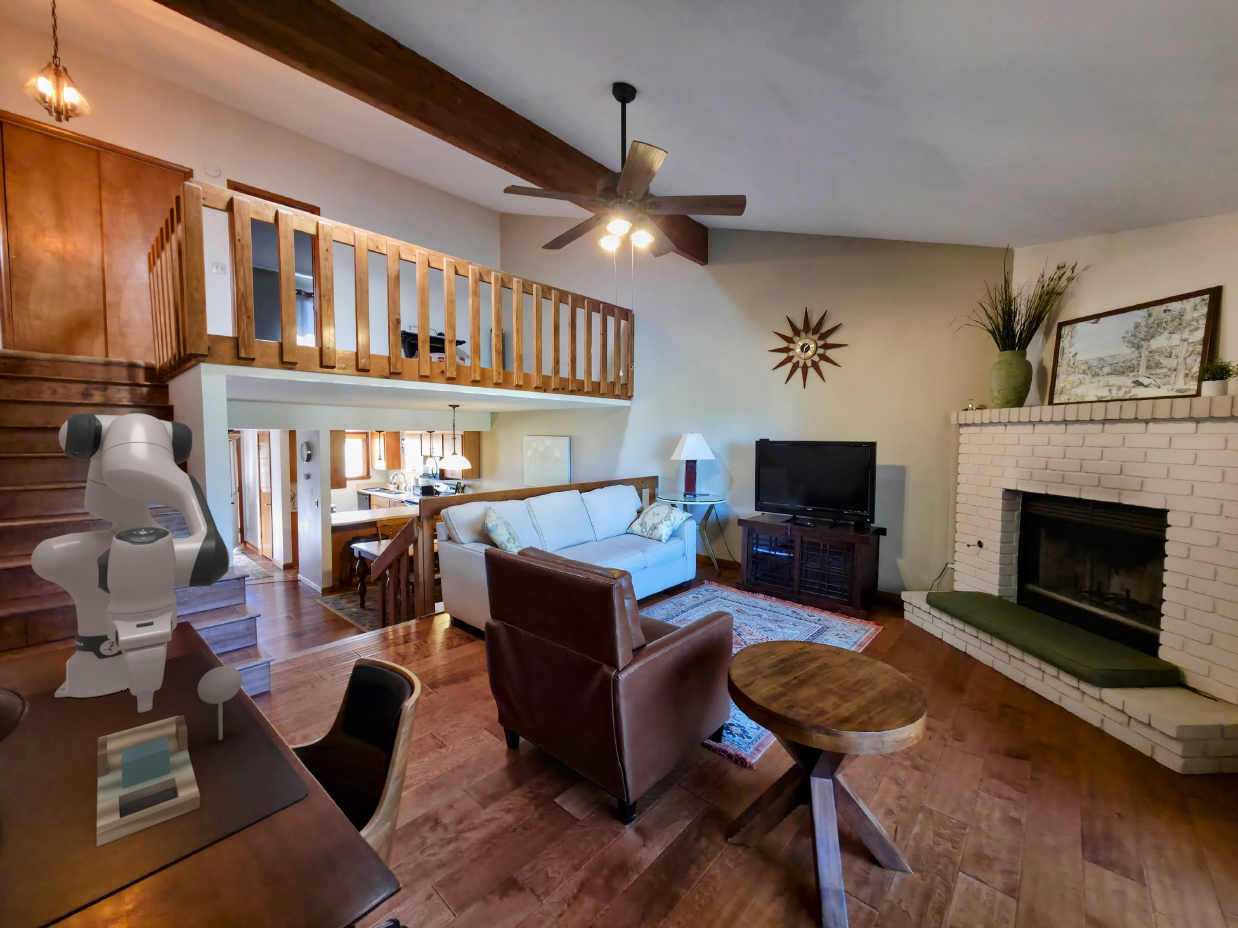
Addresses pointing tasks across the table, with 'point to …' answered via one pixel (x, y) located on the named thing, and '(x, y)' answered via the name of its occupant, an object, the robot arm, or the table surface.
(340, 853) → the table surface
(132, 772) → the block
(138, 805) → the deck
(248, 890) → the table surface
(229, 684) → the lollipop
